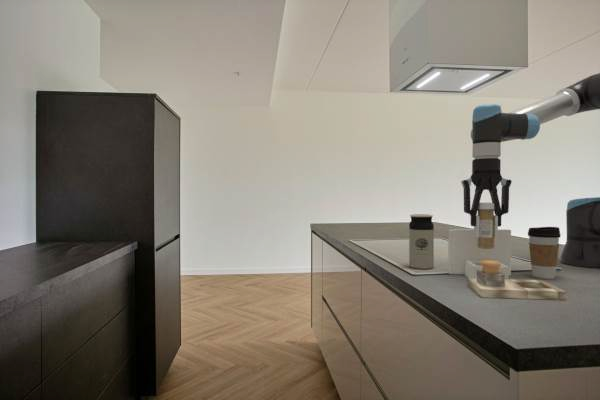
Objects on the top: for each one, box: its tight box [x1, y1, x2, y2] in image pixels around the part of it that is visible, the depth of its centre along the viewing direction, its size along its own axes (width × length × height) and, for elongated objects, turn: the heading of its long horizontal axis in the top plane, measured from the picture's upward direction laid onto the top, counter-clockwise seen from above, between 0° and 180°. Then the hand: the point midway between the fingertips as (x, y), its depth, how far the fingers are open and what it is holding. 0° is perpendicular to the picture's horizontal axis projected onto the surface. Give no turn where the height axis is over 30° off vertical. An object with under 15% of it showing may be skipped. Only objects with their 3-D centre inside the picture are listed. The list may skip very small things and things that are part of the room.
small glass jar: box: [481, 260, 500, 274], centre depth 100 cm, size 4×4×5 cm
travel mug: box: [408, 213, 435, 270], centre depth 133 cm, size 8×8×18 cm
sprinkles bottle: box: [477, 202, 495, 249], centre depth 114 cm, size 5×5×14 cm
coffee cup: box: [527, 226, 562, 280], centre depth 117 cm, size 8×8×15 cm
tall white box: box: [447, 228, 512, 279], centre depth 116 cm, size 18×12×14 cm, turn 81°
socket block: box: [467, 270, 567, 301], centre depth 99 cm, size 19×12×5 cm, turn 81°
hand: (485, 237), depth 114 cm, fingers closed on sprinkles bottle, 4 cm apart
